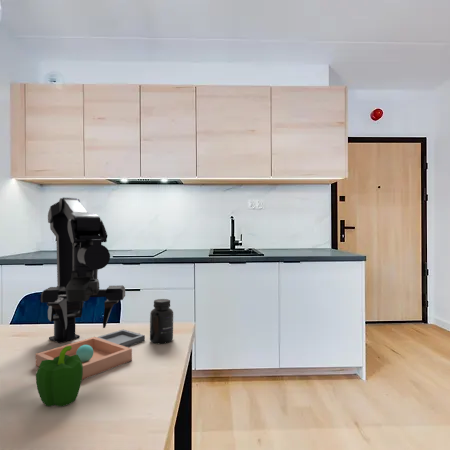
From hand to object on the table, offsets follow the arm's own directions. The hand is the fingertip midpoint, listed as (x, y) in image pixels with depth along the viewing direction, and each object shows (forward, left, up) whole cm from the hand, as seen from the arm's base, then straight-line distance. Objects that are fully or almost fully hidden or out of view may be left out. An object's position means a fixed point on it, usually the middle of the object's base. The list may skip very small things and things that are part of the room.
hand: (84, 328), depth 84 cm
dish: (0, 0, -9) cm, 9 cm away
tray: (-6, +15, -9) cm, 18 cm away
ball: (0, 0, -6) cm, 6 cm away
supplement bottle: (+3, +23, -9) cm, 25 cm away
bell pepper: (+13, -13, -9) cm, 20 cm away
